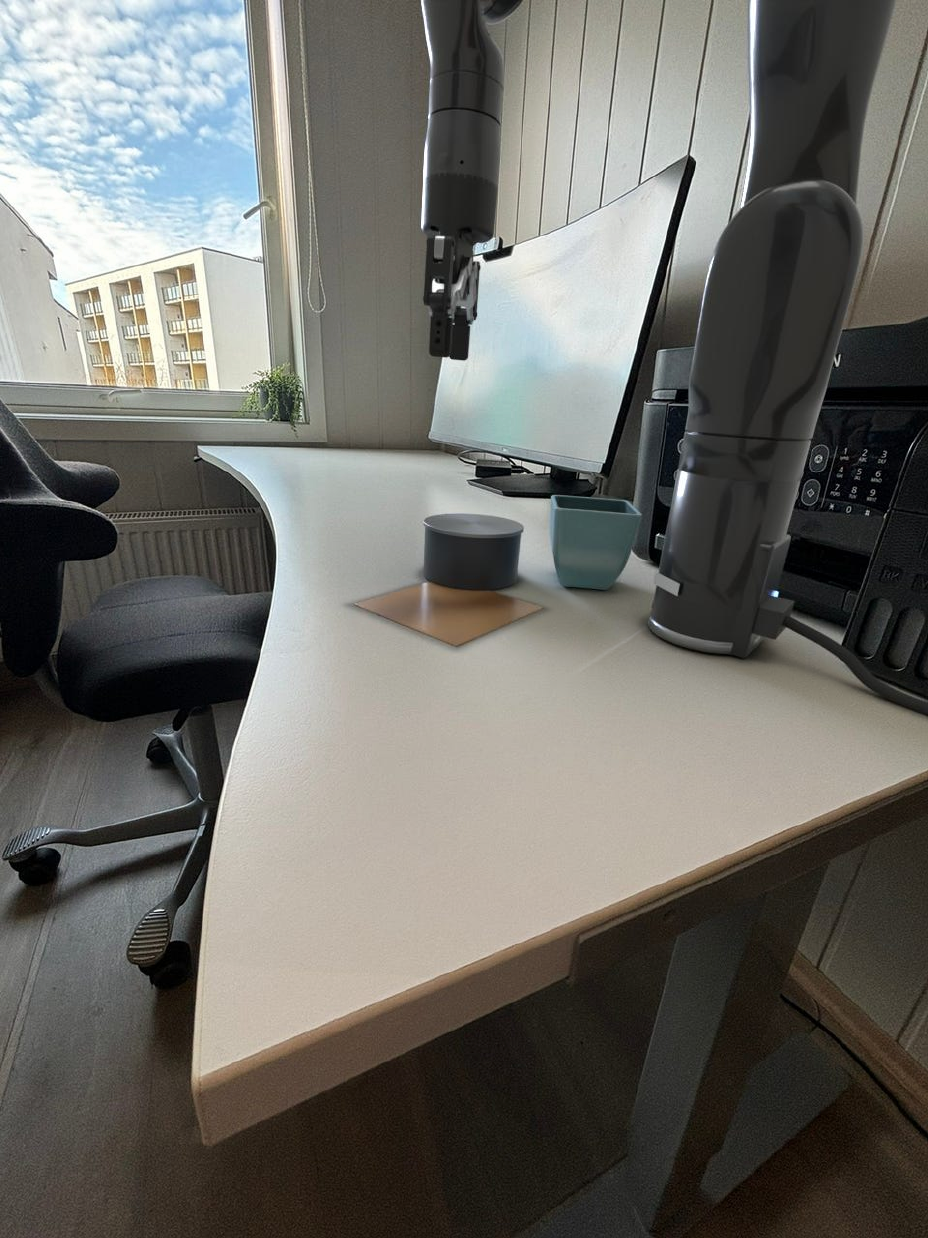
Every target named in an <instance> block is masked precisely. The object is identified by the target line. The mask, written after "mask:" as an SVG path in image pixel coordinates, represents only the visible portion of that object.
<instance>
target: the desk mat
mask: <svg viewBox="0 0 928 1238" xmlns="http://www.w3.org/2000/svg"><path fill="white" fill-rule="evenodd" d="M353 606H356V607H358V608H359V609H362V610H365V611H368V612H369V613H372V614H375V615H377V616H379V617H382V618H385V619H387V620H389V621H391V622H395V623H397V624H399V625H402V626H404V627H407V628H409V629H411V630H414V631H416V632H418V633H422V634H424V635H426V636H429V637H431V638H433V639H436V640H438V641H441V642H443V643H446V644H448V645H451V646H452V647H455V648H456V647H459V646H461V645H465V644H466V643H468V642H471V641H473V640H475V639H477V638H480V637H483V636H484V635H486V634H487V635H488V634H489V633H491V632H494V631H496V630H497V629H500V628H502V627H505V626H507V625H510V624H511V623H513V622H516V621H518V620H520V619H523V618H525V617H527V616H530V615H532V614H535V613H537V612H540V611H541V610H543V609H544V607H543V606H541V605H537V604H534V603H530V602H527V601H524V600H522V599H517V598H514V597H511V596H508V595H505V594H502V593H499V592H495V591H493V590H465V589H456V588H451V587H446V586H442V585H439V584H436V583H433V582H431V581H429V580H428V581H426V582H423V583H420V584H416V585H413V586H410V587H407V588H403V589H400V590H397V591H392V592H389V593H387V594H383V595H380V596H376V597H372V598H369V599H366V600H362V601H360V602H356V603H353Z"/></svg>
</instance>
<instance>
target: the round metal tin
mask: <svg viewBox="0 0 928 1238" xmlns="http://www.w3.org/2000/svg"><path fill="white" fill-rule="evenodd" d="M422 523H423V526H424V545H423V546H424V547H423V577H424V578H426V580H428V582H429V581H431V582H433V583H436V584H439V585H442V586H446V587H451V588H456V589H465V590H490V591H493V590H494V591H495V590H501V589H505V588H508V587H511V586H513V585H514V584H516V583H517V581H518V571H519V561H520V551H521V542H522V534H523V532H524V530H525V529H524V528H525V527H524V525H523V524H522V523H520V522H518V521H516V520H513V519H510V518H507V517H501V516H495V515H489V514H478V513H461V512H460V513H440V514H434V515H430V516H427V517H425V518H424V519H423V521H422Z"/></svg>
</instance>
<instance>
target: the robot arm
mask: <svg viewBox="0 0 928 1238" xmlns="http://www.w3.org/2000/svg"><path fill="white" fill-rule="evenodd" d="M523 2H524V0H420V4H421V13H422V17H423V18H422V19H423V25H424V32H425V40H426V44H427V45H426V46H427V50H428V56H429V64H430V74H429V75H430V76H429V97H428V120H427V129H426V135H425V143H424V144H425V145H424V152H423V153H424V155H423V179H422V200H421V201H422V203H421V206H422V207H421V224H420V225H421V226H420V227H421V231H422V232H423V234H424V235H425V236H426V237H427V238H426V252H425V253H426V254H425V271H424V286H423V297H422V300H423V304H424V306H426V307H427V311H428V312H427V313H428V315H429V316H430V322H429V323H430V324H429V345H428V354H429V355H430V356H431V357H435V358H446V359H447V358H449V359H450V360H452V361H453V360H454V361H463V362H464V361H465V362H466V361H467V360H468V358H469V353H470V352H469V350H470V338H471V326H472V325H473V324H474V321H476V320H477V318H478V301H479V286H480V272H481V269H482V268H481V262H480V261H479V260H477V261H475V260H474V246H475V245H477V244H485V243H488V242H490V241H491V240H492V239H493V237H494V235H495V224H496V213H497V212H496V211H497V200H498V191H499V189H498V188H499V179H500V177H499V176H500V165H501V122H502V113H503V112H502V111H503V100H504V99H503V98H504V86H505V61H504V56H503V53H502V52H501V49H500V48H499V46H498V44H497V43H496V42H495V41H494V39H493V38H492V36H491V34H490V32H488V30H487V28H486V26H494V25H498V24H500V23H502V22H504V21H505V20H506V19H508V18H509V17H511V16H512V15H513V14H515V12H516V11H517V10H518V8H519V7H520V6H521V5H522V4H523ZM897 2H898V0H747V10H746V11H747V13H746V14H747V17H746V19H747V20H746V22H747V23H746V24H747V26H746V29H747V33H746V34H747V35H746V36H747V40H746V41H747V73H748V74H747V75H748V76H747V77H748V101H749V103H748V104H749V138H748V152H747V160H746V168H745V169H746V170H745V176H744V181H743V189H742V194H741V200H740V206H739V210H738V211H736V213H735V214H734V215H733V216H732V217H731V218H730V220H729V221H728V223H727V224H726V226H725V227H724V229H723V231H722V233H721V234H720V237H719V238H718V241H717V242H716V245H715V247H714V249H713V253H712V255H711V258H710V263H709V266H708V270H707V273H706V274H707V275H706V279H705V284H704V290H703V295H702V299H701V300H702V301H701V307H700V313H699V319H698V325H697V331H696V338H695V342H694V343H695V344H694V348H693V349H694V350H693V356H692V360H691V367H690V374H689V381H688V411H687V418H686V423H685V431H684V435H683V439H682V445H681V450H680V454H679V460H678V466H677V471H676V476H675V481H674V486H673V493H672V498H671V503H670V507H669V513H668V519H667V525H666V530H665V535H664V540H663V546H662V551H661V557H660V562H659V568H658V572H657V571H655V573H654V578H653V585H655V590H654V594H653V595H654V596H653V600H652V604H651V609H650V611H649V615H648V621H647V625H648V628H649V630H651V632H652V633H654V634H655V635H656V636H657V637H659V638H661V639H663V640H664V641H667V642H668V643H671V644H674V645H676V646H679V647H682V648H686V649H690V650H694V651H698V652H704V653H711V654H722V655H730V656H735V657H738V658H741V659H745V658H748V656H749V655H750V654H751V653H752V652H753V651H754V650H755V649H757V648H758V647H759V644H760V643H761V642H762V641H763V640H765V638H767V639H771V640H774V641H775V640H776V639H777V638H778V637H779V636H780V635H781V634H782V633H783V632H784V631H785V629H788V630H790V631H792V632H794V633H796V634H798V635H800V636H802V637H804V638H805V639H806V640H808V641H811V642H813V643H814V644H816V645H818V646H820V647H821V648H823V649H825V650H826V651H828V652H829V653H831V654H832V655H834V657H836V658H838V659H839V660H840V661H841V662H843V664H844V665H845V666H846V667H847V668H848V669H849V671H850V672H851V673H852V674H853V675H854V676H855V677H856V678H857V680H859V682H860V683H861V684H862V685H864V686H865V687H866V688H868V689H869V690H870V691H872V692H874V693H876V694H877V695H879V696H881V697H882V698H885V699H886V700H888V701H890V702H893V703H894V704H896V705H900V706H902V707H904V708H906V709H909V710H911V711H914V712H917V713H919V714H923V715H926V716H928V701H926V700H923V699H920V698H917V697H915V696H912V695H910V694H907V693H905V692H903V691H900V690H898V689H896V688H894V687H892V686H891V685H889V684H887V683H885V682H883V681H881V680H880V679H879V678H877V677H875V676H874V675H873V674H872V673H871V672H870V671H869V670H868V669H867V668H866V667H865V665H864V664H863V663H862V662H861V661H860V660H859V658H858V657H856V656H855V654H853V653H852V652H851V651H850V650H849V649H848V648H846V647H845V646H843V645H842V644H840V643H839V642H837V641H836V640H834V639H832V638H831V637H829V636H828V635H826V634H824V633H822V632H821V631H819V630H817V629H815V628H813V627H811V626H809V625H807V624H805V623H804V622H802V621H799V620H798V619H796V618H795V617H793V616H791V615H792V612H793V608H794V606H795V605H794V604H795V600H792V599H788V598H783V597H779V591H778V589H779V584H780V582H781V581H780V580H781V577H782V573H783V570H784V566H785V562H786V559H787V555H788V551H789V548H790V544H791V540H792V536H791V534H788V529H789V525H790V521H791V518H792V514H793V510H794V507H795V503H796V499H797V497H798V492H799V488H800V484H801V480H802V477H803V473H804V469H805V466H806V462H807V459H808V454H809V451H810V446H811V443H812V441H811V440H812V439H813V436H814V433H815V430H816V425H817V422H818V419H819V415H820V412H821V410H822V405H823V402H824V400H825V396H826V392H827V389H828V385H829V381H830V377H831V372H832V368H833V365H834V361H835V357H836V354H837V350H838V347H839V344H840V339H841V335H842V333H843V328H844V326H845V321H846V318H847V315H848V310H849V306H850V303H851V299H852V295H853V292H854V289H855V285H856V281H857V277H858V275H859V274H858V273H859V270H860V265H861V261H862V257H863V251H864V244H865V231H864V224H863V220H862V216H861V213H860V211H859V208H858V205H857V203H858V191H859V190H858V189H859V178H860V167H861V158H862V157H861V156H862V147H863V140H864V133H865V132H864V131H865V126H866V121H867V115H868V110H869V105H870V101H871V97H872V93H873V90H874V84H875V82H876V81H875V80H876V77H877V75H878V70H879V67H880V63H881V60H882V57H883V53H884V50H885V46H886V42H887V39H888V35H889V32H890V29H891V28H890V27H891V26H892V25H891V24H892V21H893V17H894V14H895V10H896V6H897ZM485 25H486V26H485Z"/></svg>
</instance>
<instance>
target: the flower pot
mask: <svg viewBox="0 0 928 1238" xmlns="http://www.w3.org/2000/svg"><path fill="white" fill-rule="evenodd" d="M642 517H643V514H642V512H640V511H639V510H638V509H637V507H635V506H634V505H633V504H632V503H631V502H630V501H628V500H625V499H613V498H603V497H602V498H600V497H589V496H577V495H576V496H574V495H562V494H552V495H551V496H550V520H549V521H550V525H549V528H550V529H549V536H550V547H551V553H552V558H553V564H554V565H553V566H554V569H555V572H556V576H557V578H558V581H559V584H560V585H561V586H562V587H566V588H578V589H579V588H581V589H591V590H600V591H606V590H609V589H610V588H611V587H612V585H614V583H615V582H616V581H617V580H618V578H619V577H620V576H621V575H622V573H623V571H624V570H625V568H626V566H627V563H628V562H629V559H630V557H631V553H632V551H633V547H634V545H635V540H636V538H637V535H638V531H639V528H640V524H641V520H642Z"/></svg>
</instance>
